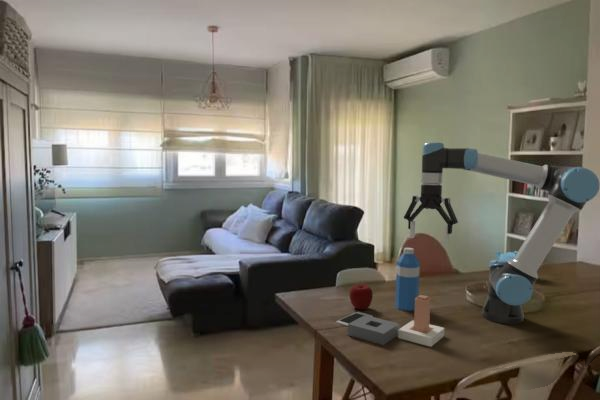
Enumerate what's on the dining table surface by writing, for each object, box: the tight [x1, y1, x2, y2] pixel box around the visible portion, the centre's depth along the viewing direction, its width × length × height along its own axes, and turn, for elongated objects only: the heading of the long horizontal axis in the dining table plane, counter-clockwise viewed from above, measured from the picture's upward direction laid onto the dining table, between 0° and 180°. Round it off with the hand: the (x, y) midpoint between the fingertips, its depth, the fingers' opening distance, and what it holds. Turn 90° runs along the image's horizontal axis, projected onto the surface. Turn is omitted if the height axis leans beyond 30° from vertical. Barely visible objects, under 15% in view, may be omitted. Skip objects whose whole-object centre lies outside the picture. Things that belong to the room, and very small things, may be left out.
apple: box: [349, 283, 374, 311], centre depth 194 cm, size 10×10×10 cm
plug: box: [413, 294, 431, 334], centre depth 164 cm, size 4×4×15 cm
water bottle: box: [394, 247, 421, 311], centre depth 196 cm, size 9×9×25 cm
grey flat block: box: [347, 315, 401, 346], centre depth 166 cm, size 14×12×4 cm
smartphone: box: [335, 311, 374, 327], centre depth 181 cm, size 7×16×1 cm, turn 140°
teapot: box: [493, 250, 519, 260], centre depth 250 cm, size 22×11×14 cm, turn 42°
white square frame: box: [397, 319, 445, 348], centre depth 165 cm, size 12×12×3 cm
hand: (429, 240), depth 178 cm, fingers open, 13 cm apart
